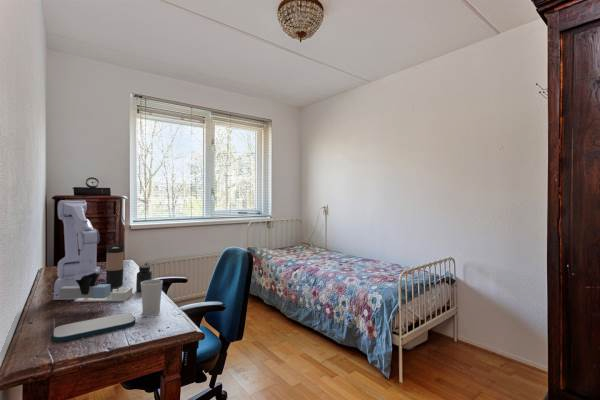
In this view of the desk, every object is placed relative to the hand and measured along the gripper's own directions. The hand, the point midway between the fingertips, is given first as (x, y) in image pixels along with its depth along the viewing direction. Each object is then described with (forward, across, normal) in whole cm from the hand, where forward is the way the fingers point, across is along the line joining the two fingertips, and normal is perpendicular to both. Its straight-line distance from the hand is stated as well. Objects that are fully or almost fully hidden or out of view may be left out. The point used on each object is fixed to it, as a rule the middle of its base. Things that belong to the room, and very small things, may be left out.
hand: (87, 292), depth 125 cm
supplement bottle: (+7, +24, -13) cm, 28 cm away
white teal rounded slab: (+7, -20, -14) cm, 26 cm away
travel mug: (+7, +33, +5) cm, 34 cm away
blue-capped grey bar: (+2, 0, 0) cm, 2 cm away
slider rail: (+6, +13, -1) cm, 14 cm away
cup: (+6, -5, -27) cm, 28 cm away
